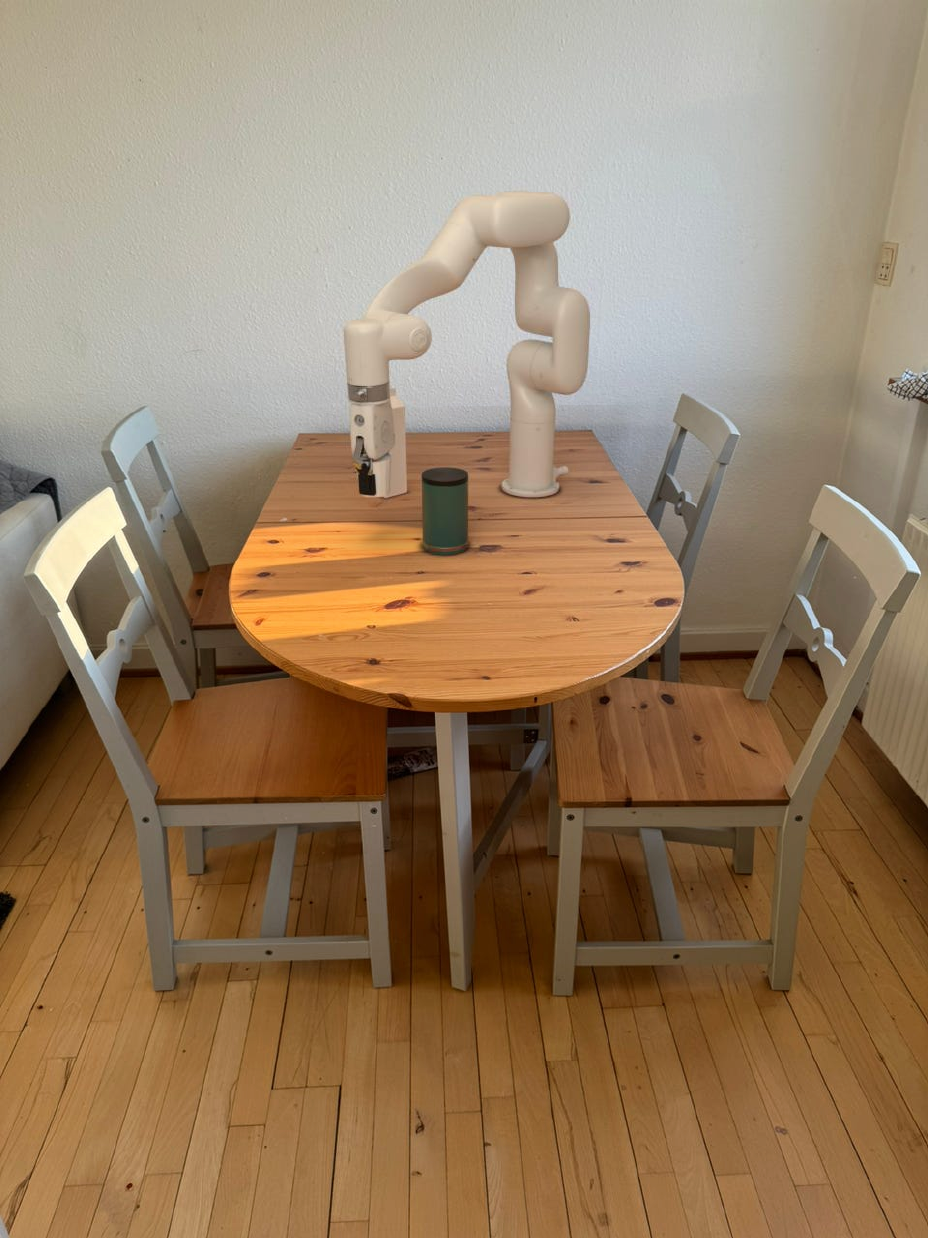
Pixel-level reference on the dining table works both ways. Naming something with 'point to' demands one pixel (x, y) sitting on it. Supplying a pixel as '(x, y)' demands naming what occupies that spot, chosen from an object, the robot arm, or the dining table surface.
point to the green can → (445, 510)
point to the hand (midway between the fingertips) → (374, 488)
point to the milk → (398, 448)
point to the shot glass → (381, 474)
